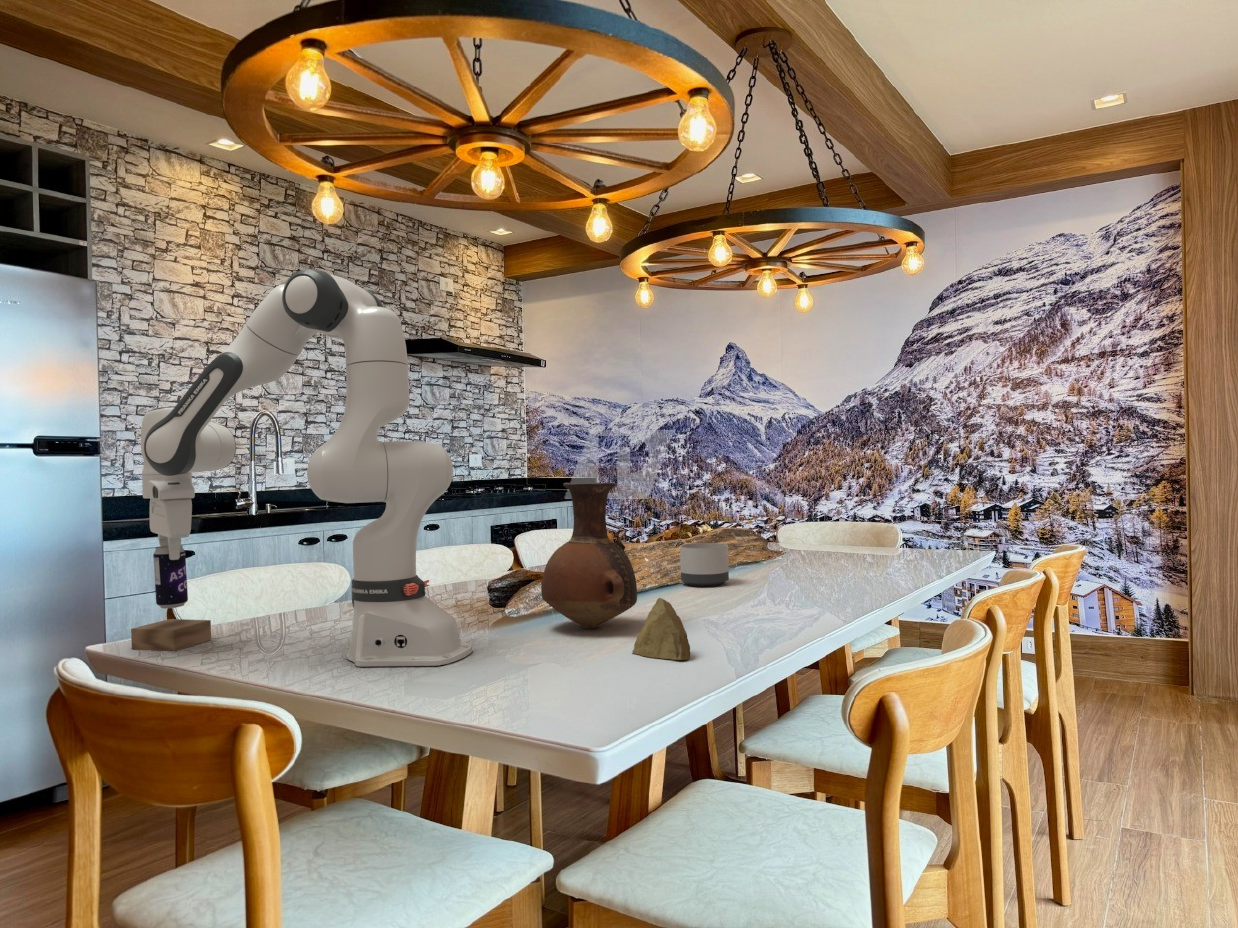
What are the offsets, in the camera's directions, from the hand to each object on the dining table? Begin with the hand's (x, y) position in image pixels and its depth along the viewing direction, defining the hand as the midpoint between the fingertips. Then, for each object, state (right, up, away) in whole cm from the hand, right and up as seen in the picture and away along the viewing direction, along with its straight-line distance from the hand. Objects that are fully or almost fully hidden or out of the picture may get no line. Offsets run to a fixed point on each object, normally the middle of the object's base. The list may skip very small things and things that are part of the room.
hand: (170, 557), depth 174 cm
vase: (+84, -15, +6) cm, 85 cm away
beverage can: (0, -10, 0) cm, 10 cm away
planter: (+113, -14, +60) cm, 128 cm away
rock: (+97, -15, -22) cm, 101 cm away
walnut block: (0, -17, 0) cm, 17 cm away
